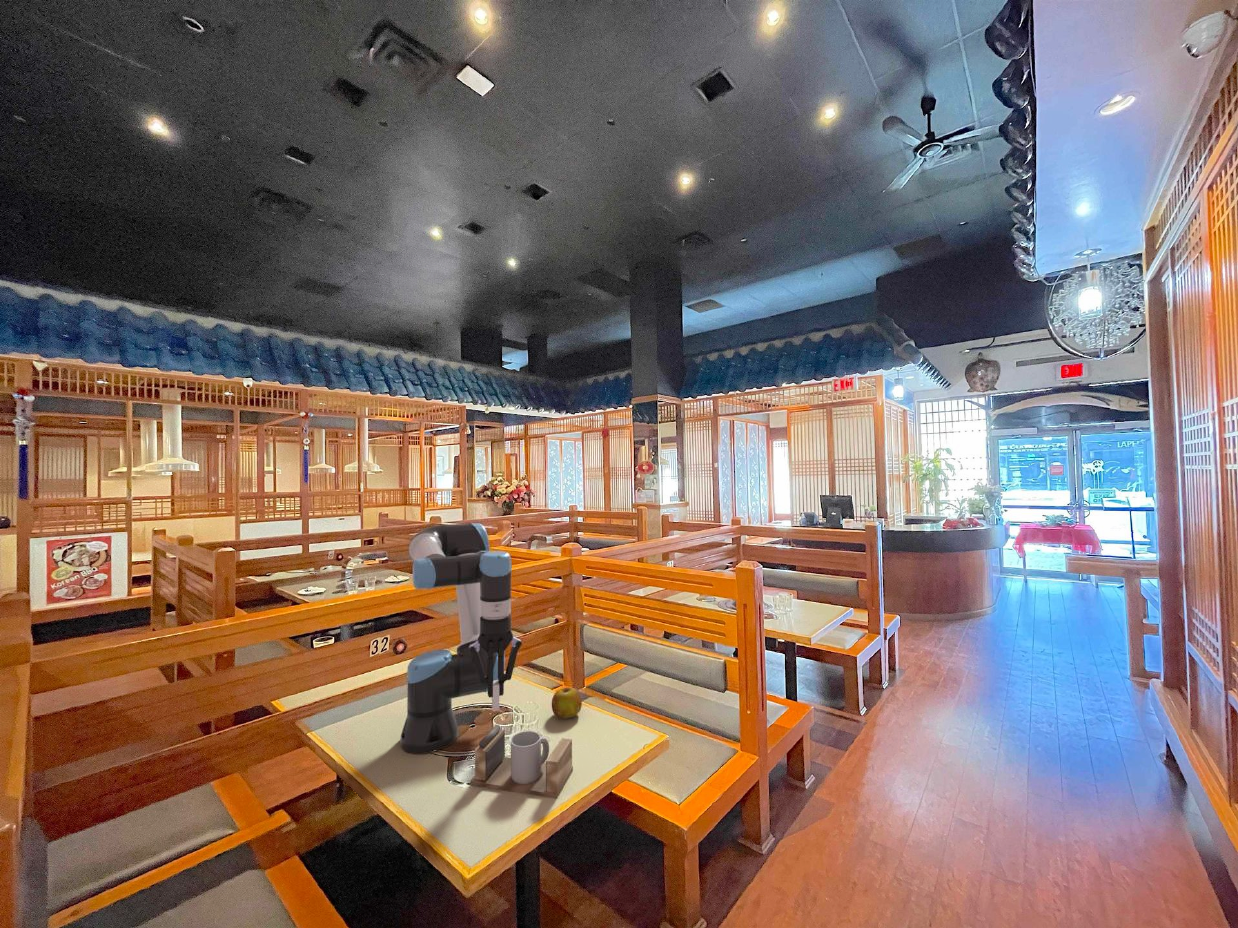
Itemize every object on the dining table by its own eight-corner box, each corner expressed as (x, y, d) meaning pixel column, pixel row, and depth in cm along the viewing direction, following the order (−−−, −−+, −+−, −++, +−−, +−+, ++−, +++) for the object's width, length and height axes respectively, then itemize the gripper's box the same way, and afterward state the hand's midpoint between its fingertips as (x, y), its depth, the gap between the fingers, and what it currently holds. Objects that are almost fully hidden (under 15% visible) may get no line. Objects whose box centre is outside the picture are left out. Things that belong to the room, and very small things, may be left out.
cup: (505, 774, 123) (505, 737, 123) (541, 759, 129) (541, 724, 129) (519, 788, 117) (519, 750, 117) (556, 772, 123) (556, 735, 123)
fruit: (562, 706, 160) (562, 680, 160) (587, 711, 156) (587, 685, 156) (545, 719, 151) (545, 693, 151) (571, 726, 147) (571, 698, 147)
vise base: (470, 784, 120) (469, 751, 120) (492, 759, 131) (492, 728, 131) (556, 798, 115) (556, 763, 115) (572, 770, 125) (572, 738, 126)
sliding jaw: (475, 778, 120) (474, 742, 120) (495, 755, 130) (494, 722, 130) (486, 780, 120) (486, 744, 120) (505, 757, 129) (505, 723, 129)
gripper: (469, 622, 119) (469, 720, 120) (524, 616, 124) (524, 711, 124) (467, 612, 126) (467, 705, 127) (519, 607, 131) (519, 697, 132)
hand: (495, 708), depth 126 cm, fingers closed
